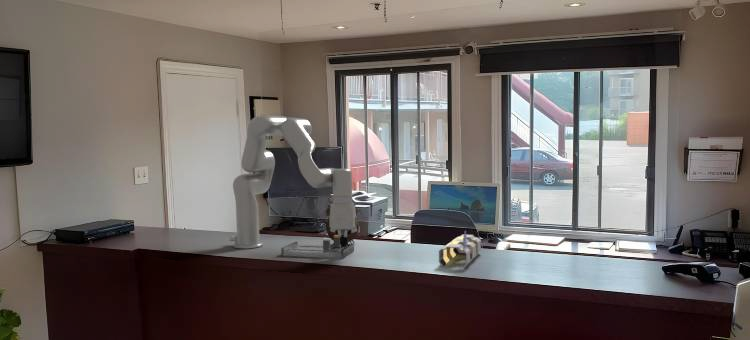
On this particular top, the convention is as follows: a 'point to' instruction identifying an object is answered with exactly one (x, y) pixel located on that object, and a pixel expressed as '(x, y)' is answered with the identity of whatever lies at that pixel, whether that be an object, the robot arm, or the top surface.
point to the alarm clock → (350, 237)
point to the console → (316, 251)
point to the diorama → (460, 248)
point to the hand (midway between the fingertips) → (344, 246)
